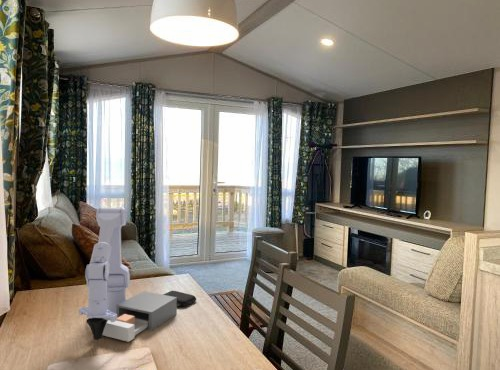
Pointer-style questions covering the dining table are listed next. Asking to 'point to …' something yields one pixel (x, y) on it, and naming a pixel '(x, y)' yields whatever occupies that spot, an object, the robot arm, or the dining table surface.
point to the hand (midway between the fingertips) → (98, 338)
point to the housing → (149, 308)
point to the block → (127, 319)
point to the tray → (124, 329)
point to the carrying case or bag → (182, 298)
